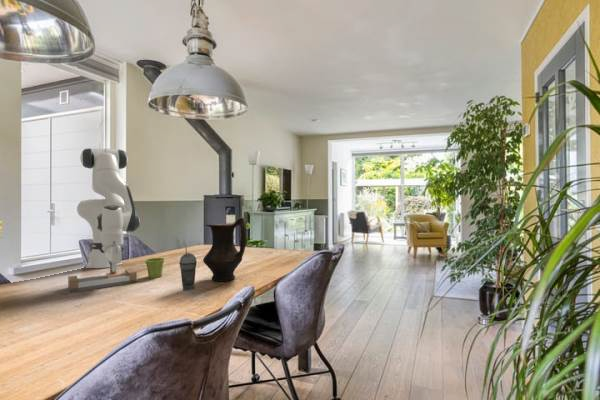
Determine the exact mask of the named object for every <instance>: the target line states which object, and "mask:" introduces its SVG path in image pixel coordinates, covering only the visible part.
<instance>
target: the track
mask: <svg viewBox="0 0 600 400" xmlns="http://www.w3.org/2000/svg"><path fill="white" fill-rule="evenodd" d="M119 273H120V274H121V277H115V278H108V279H106V274H103V275H101V274H100V275H96V276H95V275H94V276H88V277H81V278H80V277H79V278H78V276H77V275H69V276H67V281H68V282H67V285H68V286H67V288H68V291H69V293H75V292H76V293H77V292H82V291H89V290H90V291H91V290H96V289H97V290H98V289H104V288H109V287H116V286H123V285H129V284H136V283H138V282H137V281H138V279H137V271H136V270H135V269H133V268H126V269H124V272H119Z"/></svg>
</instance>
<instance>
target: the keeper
mask: <svg viewBox="0 0 600 400" xmlns="http://www.w3.org/2000/svg"><path fill="white" fill-rule="evenodd" d="M109 263H110V267H109V272H106V273H105V275H106V279H108V278H115V277H121V274H120V273H121V272H119V271H117V270H116V271H114V272H113V271H112V263H111V262H110V261H109Z"/></svg>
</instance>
